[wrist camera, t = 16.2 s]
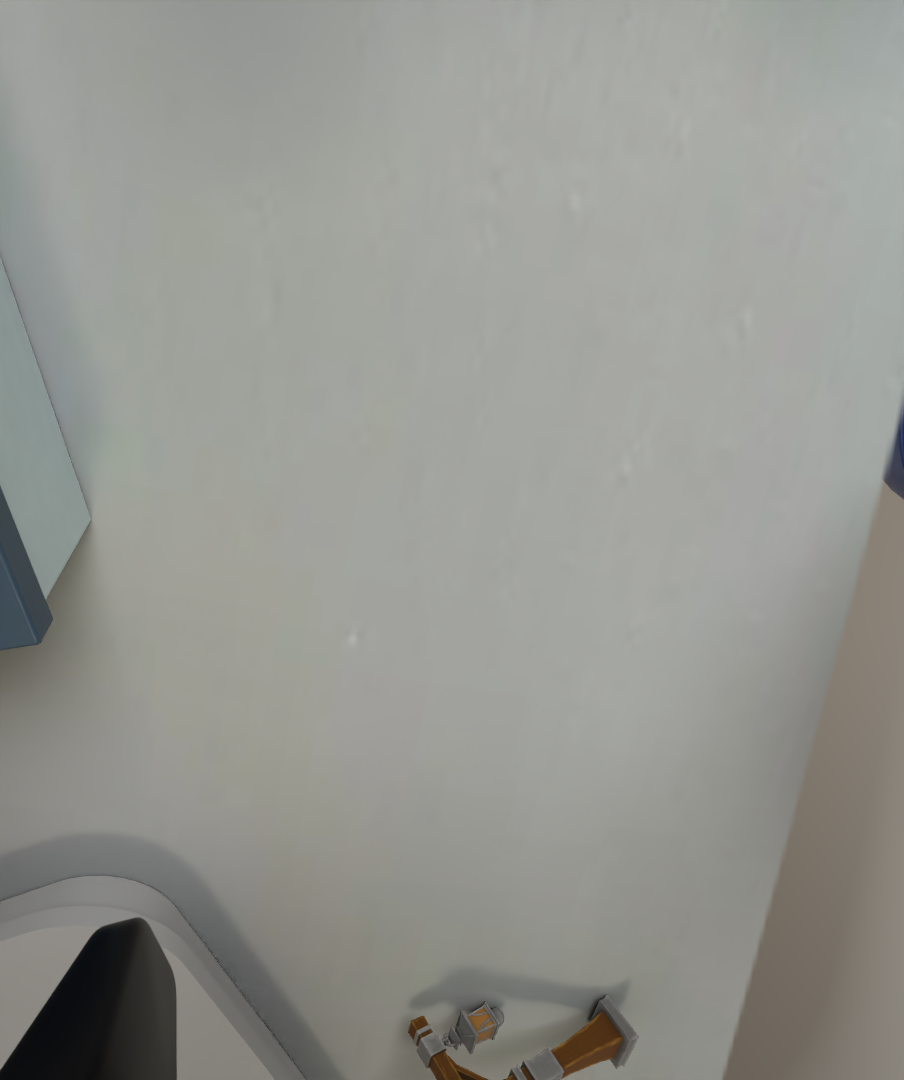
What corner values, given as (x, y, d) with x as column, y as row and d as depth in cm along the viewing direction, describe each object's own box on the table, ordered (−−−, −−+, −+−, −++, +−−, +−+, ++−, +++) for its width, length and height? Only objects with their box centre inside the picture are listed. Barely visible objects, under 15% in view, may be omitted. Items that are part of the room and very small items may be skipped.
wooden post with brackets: (392, 1019, 29) (461, 1149, 25) (565, 939, 33) (643, 1041, 30) (383, 1050, 29) (448, 1181, 26) (553, 968, 34) (627, 1071, 31)
